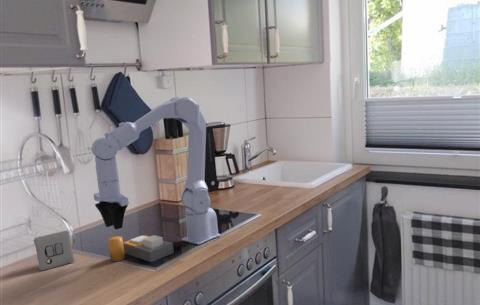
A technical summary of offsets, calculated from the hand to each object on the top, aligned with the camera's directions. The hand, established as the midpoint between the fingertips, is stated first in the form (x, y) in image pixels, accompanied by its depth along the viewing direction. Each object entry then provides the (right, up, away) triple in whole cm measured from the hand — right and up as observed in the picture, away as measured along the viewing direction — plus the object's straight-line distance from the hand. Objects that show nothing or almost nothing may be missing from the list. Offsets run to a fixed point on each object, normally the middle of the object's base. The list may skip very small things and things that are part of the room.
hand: (114, 227), depth 129 cm
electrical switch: (-17, -11, +1) cm, 20 cm away
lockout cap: (+1, -9, +1) cm, 9 cm away
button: (+11, -6, +2) cm, 13 cm away
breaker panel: (+9, -8, +4) cm, 13 cm away
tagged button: (+6, -7, +6) cm, 11 cm away
